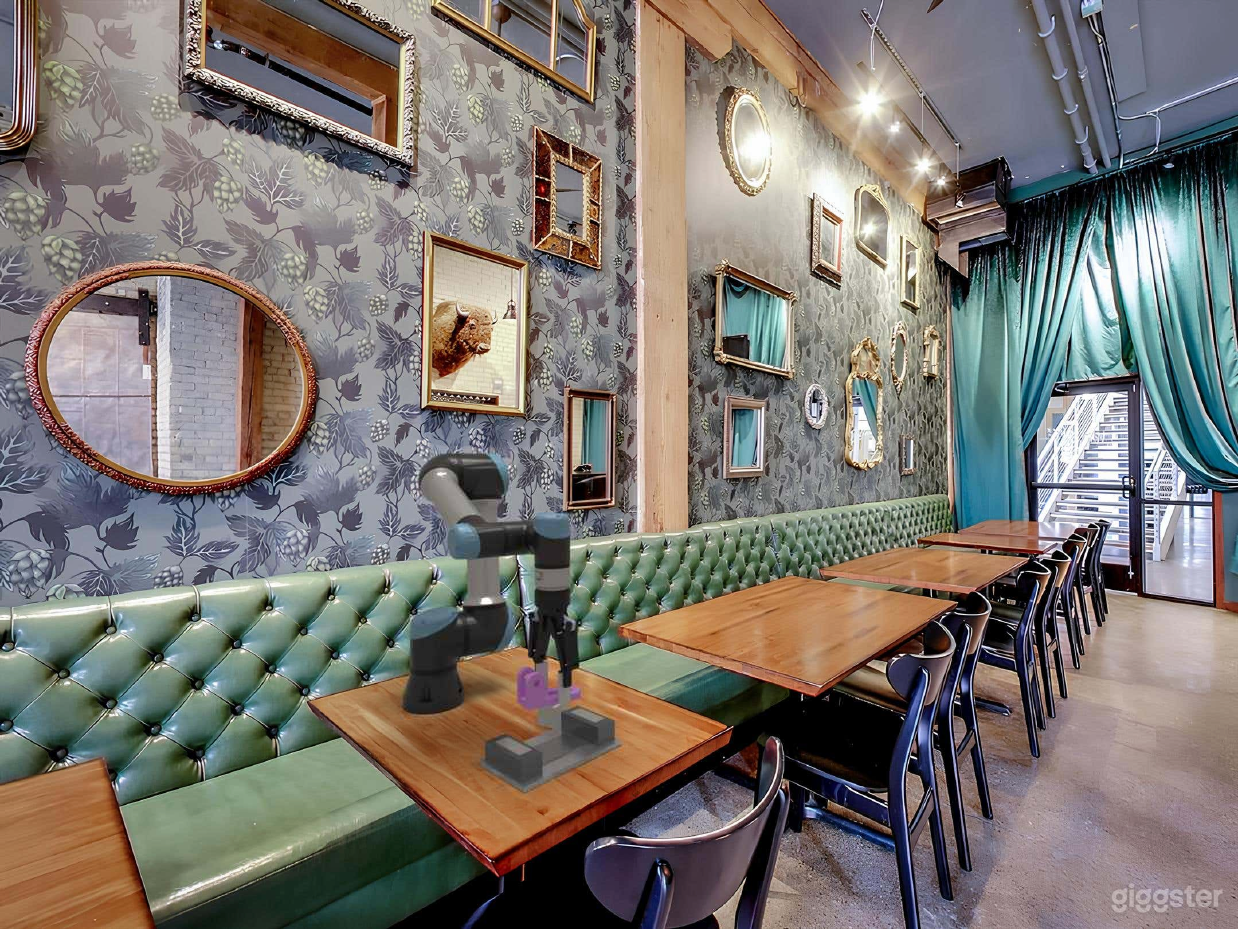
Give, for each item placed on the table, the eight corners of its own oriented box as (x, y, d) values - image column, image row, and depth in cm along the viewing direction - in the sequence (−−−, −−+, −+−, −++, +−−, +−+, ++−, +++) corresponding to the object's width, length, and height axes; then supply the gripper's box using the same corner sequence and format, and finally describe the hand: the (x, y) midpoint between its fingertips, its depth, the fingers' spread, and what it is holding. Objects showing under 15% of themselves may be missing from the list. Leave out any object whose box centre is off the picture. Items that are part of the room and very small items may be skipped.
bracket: (528, 710, 115) (527, 675, 116) (517, 702, 120) (517, 668, 120) (585, 697, 122) (585, 664, 123) (573, 690, 127) (572, 658, 127)
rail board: (478, 765, 117) (478, 739, 117) (574, 724, 136) (574, 702, 136) (524, 793, 107) (524, 764, 107) (621, 745, 125) (621, 720, 126)
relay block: (537, 725, 136) (537, 703, 136) (550, 717, 140) (550, 695, 140) (555, 729, 133) (555, 707, 134) (567, 721, 138) (567, 699, 138)
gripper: (510, 584, 126) (510, 691, 125) (569, 596, 112) (570, 716, 112) (537, 579, 131) (538, 682, 131) (597, 590, 118) (598, 705, 117)
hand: (552, 697), depth 121 cm, fingers closed on bracket, 6 cm apart
